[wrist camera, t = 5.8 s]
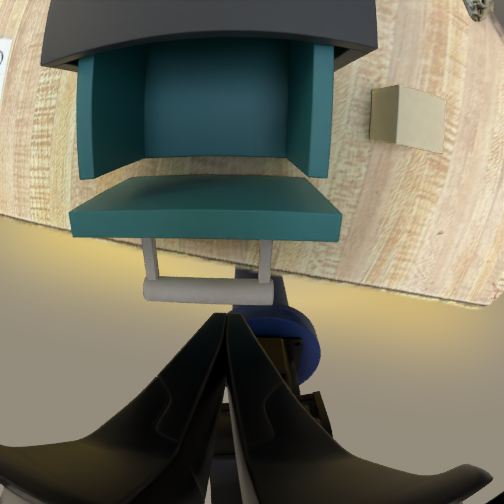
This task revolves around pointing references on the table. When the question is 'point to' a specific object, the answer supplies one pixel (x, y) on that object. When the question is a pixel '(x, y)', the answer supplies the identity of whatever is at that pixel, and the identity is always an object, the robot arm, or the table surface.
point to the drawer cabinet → (204, 25)
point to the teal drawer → (207, 150)
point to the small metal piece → (476, 4)
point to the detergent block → (408, 118)
